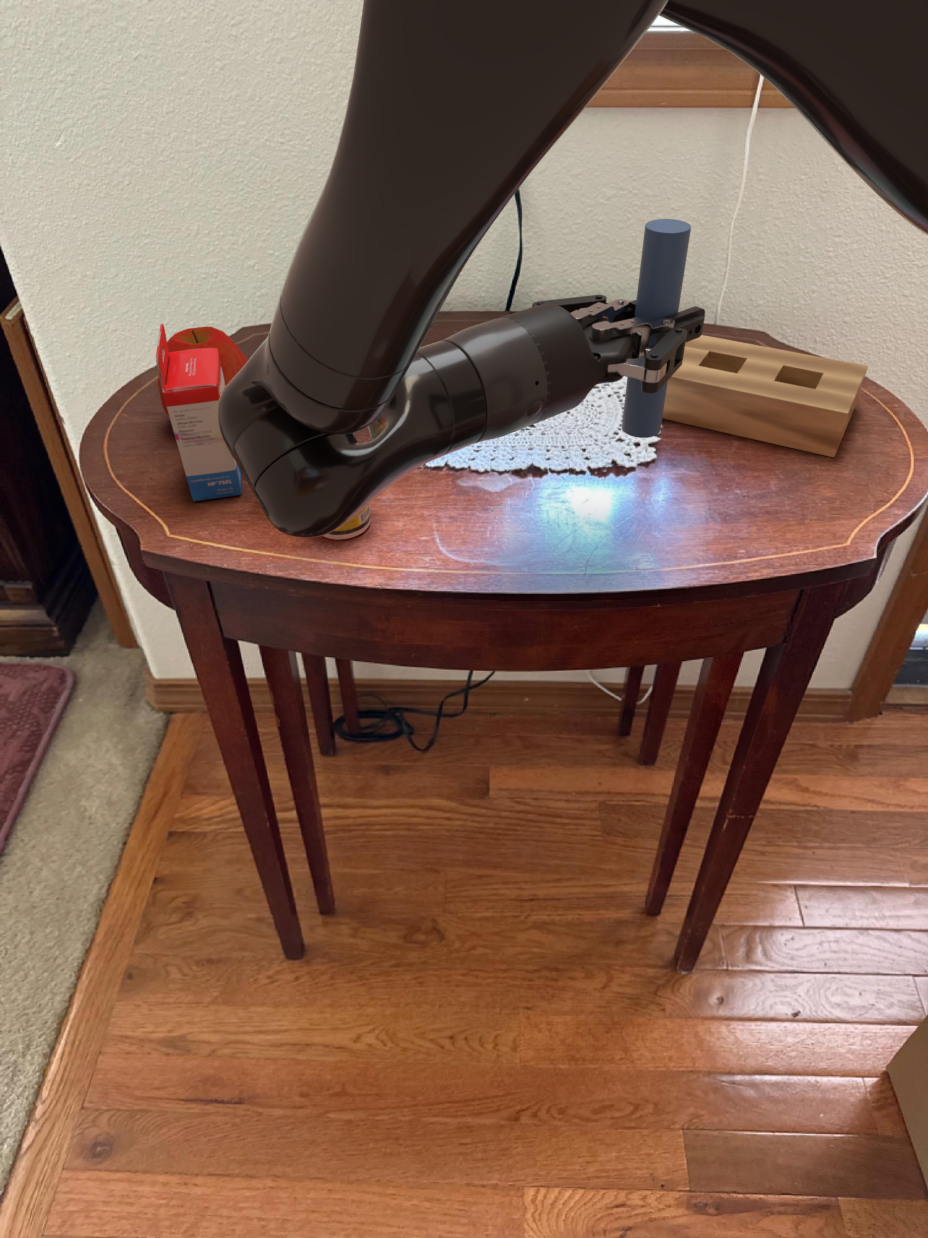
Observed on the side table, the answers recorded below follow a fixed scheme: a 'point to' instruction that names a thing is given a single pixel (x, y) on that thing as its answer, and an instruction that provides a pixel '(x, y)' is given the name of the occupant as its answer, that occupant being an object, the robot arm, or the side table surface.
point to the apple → (207, 338)
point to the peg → (656, 313)
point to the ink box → (198, 418)
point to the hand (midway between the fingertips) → (680, 313)
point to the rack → (764, 394)
